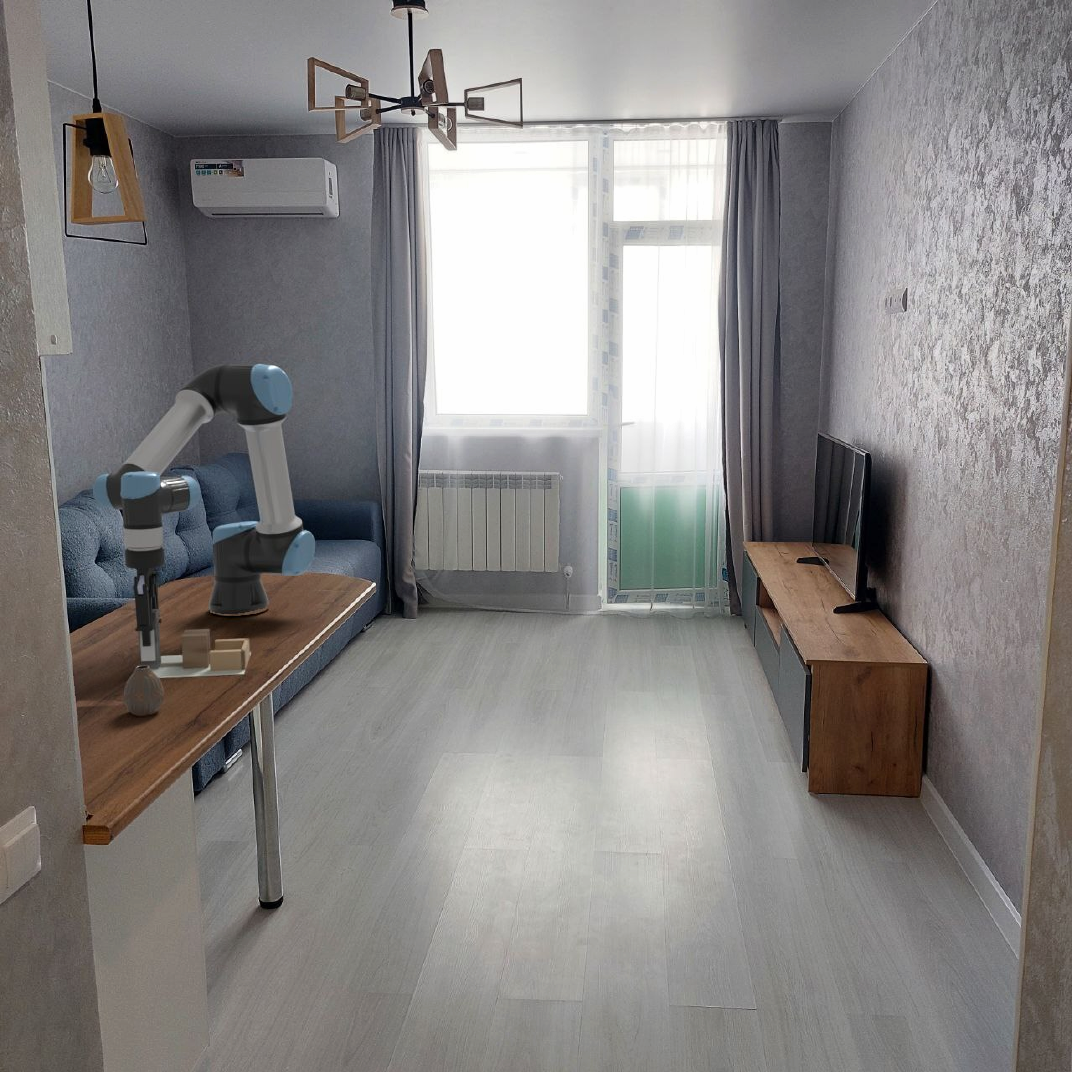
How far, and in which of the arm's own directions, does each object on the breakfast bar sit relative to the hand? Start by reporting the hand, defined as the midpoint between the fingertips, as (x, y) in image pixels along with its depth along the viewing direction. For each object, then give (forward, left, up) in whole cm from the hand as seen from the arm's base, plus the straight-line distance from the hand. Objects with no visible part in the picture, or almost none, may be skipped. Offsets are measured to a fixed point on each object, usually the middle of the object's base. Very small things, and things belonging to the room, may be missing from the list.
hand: (150, 657), depth 209 cm
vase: (+26, +4, -3) cm, 26 cm away
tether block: (0, +5, -2) cm, 5 cm away
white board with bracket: (0, +9, -3) cm, 9 cm away
